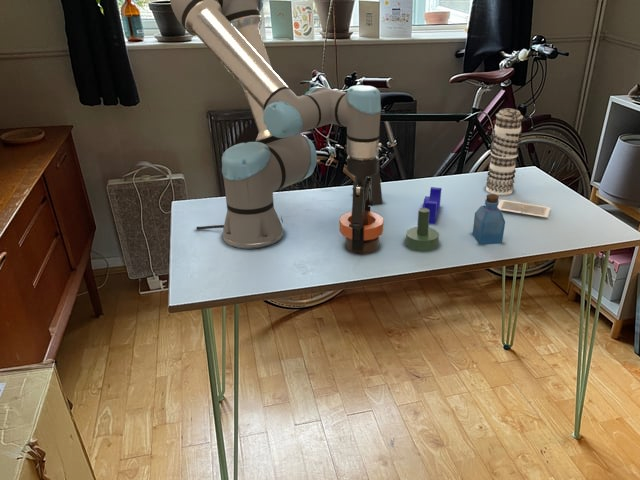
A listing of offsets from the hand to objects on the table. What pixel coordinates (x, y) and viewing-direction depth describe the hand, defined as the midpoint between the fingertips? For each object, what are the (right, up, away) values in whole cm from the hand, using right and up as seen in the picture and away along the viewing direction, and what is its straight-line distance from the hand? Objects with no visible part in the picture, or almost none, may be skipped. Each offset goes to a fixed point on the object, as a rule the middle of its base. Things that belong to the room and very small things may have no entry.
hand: (361, 239), depth 148 cm
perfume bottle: (+33, +1, +7) cm, 34 cm away
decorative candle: (+42, +19, +37) cm, 59 cm away
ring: (0, +2, -1) cm, 3 cm away
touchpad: (+46, +10, +23) cm, 53 cm away
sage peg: (+16, -1, +3) cm, 16 cm away
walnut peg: (0, -2, +1) cm, 2 cm away
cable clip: (+19, +9, +19) cm, 28 cm away
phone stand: (+1, +14, +27) cm, 31 cm away
